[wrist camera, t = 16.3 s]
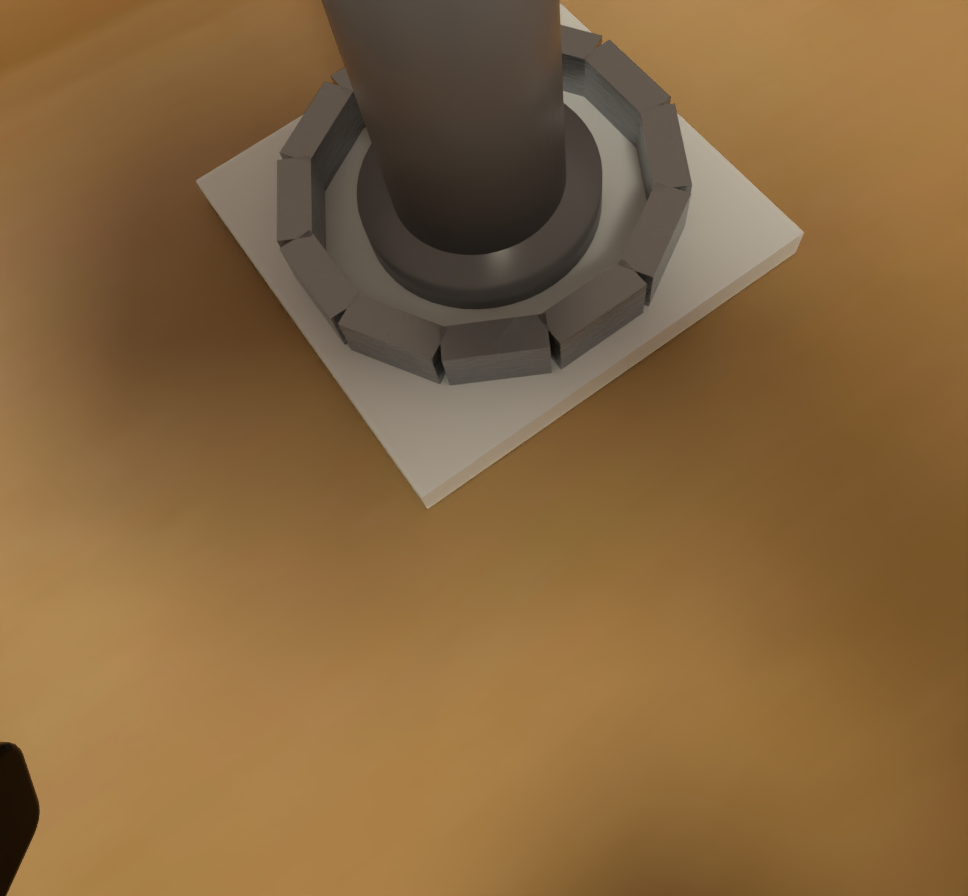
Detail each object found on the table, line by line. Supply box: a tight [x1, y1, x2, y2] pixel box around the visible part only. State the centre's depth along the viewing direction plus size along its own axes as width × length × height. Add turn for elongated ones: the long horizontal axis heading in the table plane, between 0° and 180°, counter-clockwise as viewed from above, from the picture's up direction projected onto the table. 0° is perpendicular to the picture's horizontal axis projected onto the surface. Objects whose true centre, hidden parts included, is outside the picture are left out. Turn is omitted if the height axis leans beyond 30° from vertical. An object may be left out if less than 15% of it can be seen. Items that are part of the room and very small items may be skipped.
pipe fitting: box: [322, 0, 602, 309], centre depth 19 cm, size 7×7×13 cm
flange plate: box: [196, 3, 804, 509], centre depth 25 cm, size 13×13×2 cm
